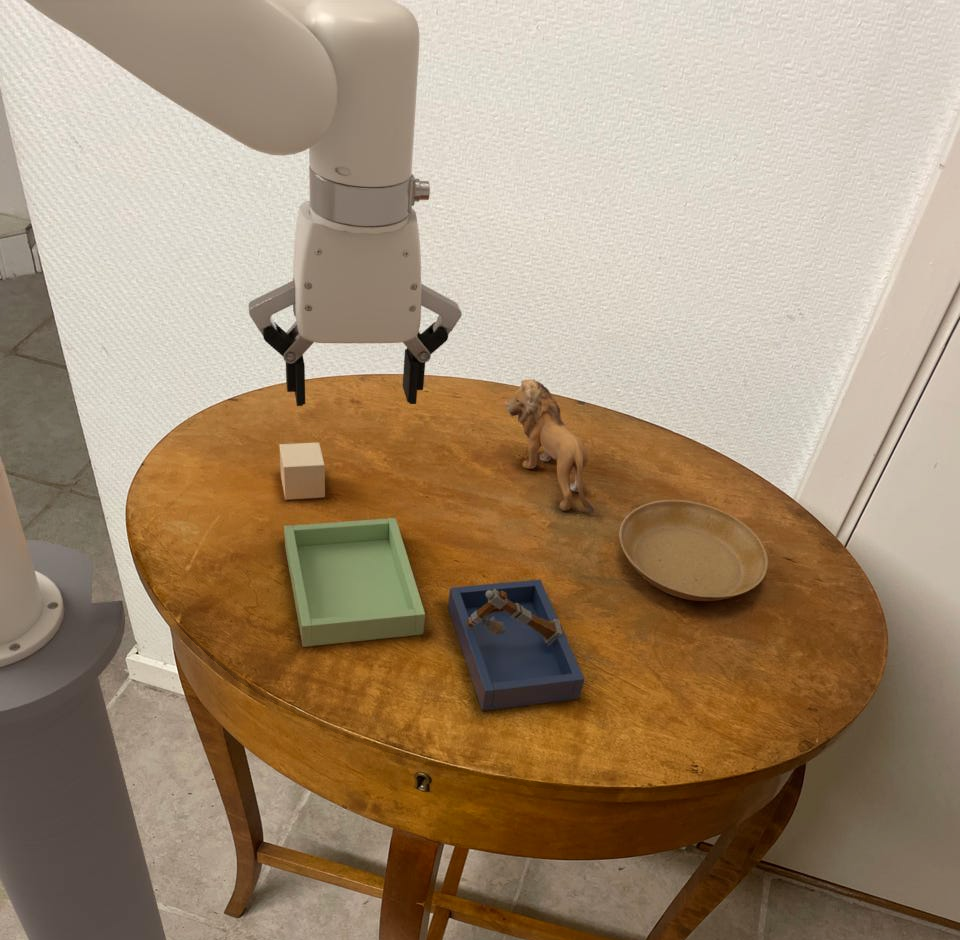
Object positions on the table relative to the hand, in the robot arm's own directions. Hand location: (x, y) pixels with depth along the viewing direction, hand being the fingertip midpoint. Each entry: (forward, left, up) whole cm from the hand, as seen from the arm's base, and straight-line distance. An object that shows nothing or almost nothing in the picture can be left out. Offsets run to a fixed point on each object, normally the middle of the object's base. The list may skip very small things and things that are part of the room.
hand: (355, 396), depth 83 cm
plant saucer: (+32, -10, -15) cm, 37 cm away
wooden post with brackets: (+11, -19, -13) cm, 25 cm away
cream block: (-4, +7, -15) cm, 17 cm away
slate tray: (+11, -19, -15) cm, 26 cm away
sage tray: (-1, -9, -15) cm, 17 cm away
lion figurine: (+22, +6, -15) cm, 27 cm away
